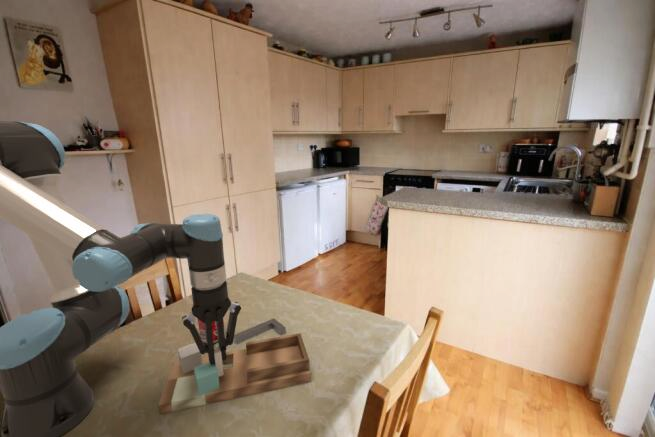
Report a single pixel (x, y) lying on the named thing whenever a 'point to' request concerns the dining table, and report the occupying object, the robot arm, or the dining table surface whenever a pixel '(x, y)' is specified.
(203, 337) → the soda can
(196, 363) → the grey block
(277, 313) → the dining table surface
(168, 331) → the dining table surface
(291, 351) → the tray
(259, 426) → the dining table surface
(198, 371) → the teal block
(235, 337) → the crook tool
